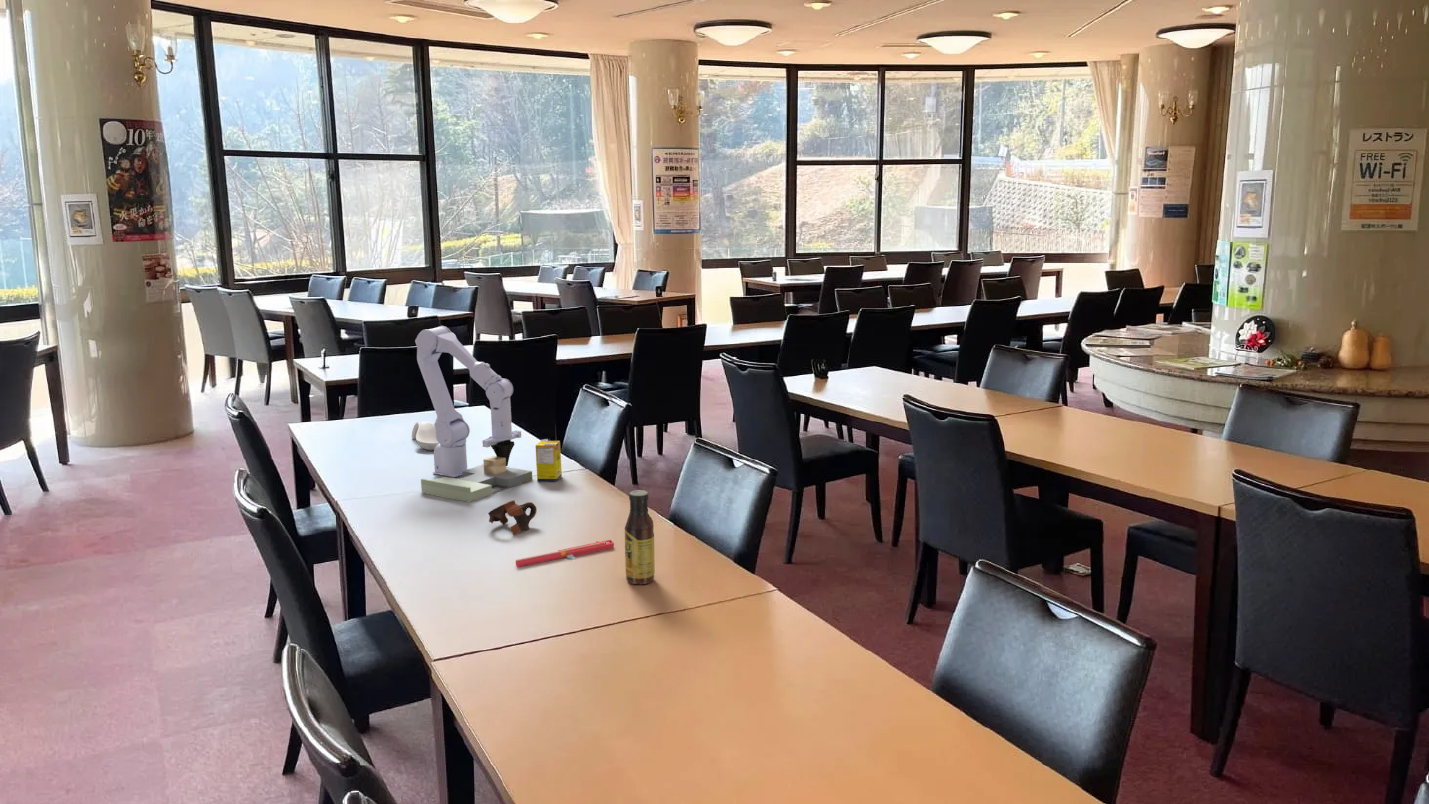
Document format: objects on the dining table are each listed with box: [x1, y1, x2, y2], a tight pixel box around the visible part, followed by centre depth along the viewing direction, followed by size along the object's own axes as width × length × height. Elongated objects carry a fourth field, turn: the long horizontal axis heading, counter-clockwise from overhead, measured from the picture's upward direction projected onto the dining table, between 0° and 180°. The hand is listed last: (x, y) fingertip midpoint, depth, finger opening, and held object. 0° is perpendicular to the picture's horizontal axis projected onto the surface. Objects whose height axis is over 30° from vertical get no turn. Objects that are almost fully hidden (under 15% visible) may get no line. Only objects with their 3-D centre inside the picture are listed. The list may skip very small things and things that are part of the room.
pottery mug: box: [487, 500, 538, 536], centre depth 253 cm, size 12×10×8 cm
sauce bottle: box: [624, 489, 656, 585], centre depth 215 cm, size 6×6×20 cm
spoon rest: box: [411, 420, 439, 451], centre depth 341 cm, size 24×12×7 cm, turn 35°
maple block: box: [483, 455, 507, 475], centre depth 296 cm, size 4×4×4 cm
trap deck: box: [420, 463, 533, 503], centre depth 291 cm, size 18×26×4 cm
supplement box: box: [535, 440, 563, 482], centre depth 297 cm, size 6×6×11 cm
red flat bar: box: [515, 539, 615, 568], centre depth 232 cm, size 24×2×5 cm
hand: (503, 465), depth 300 cm, fingers closed
